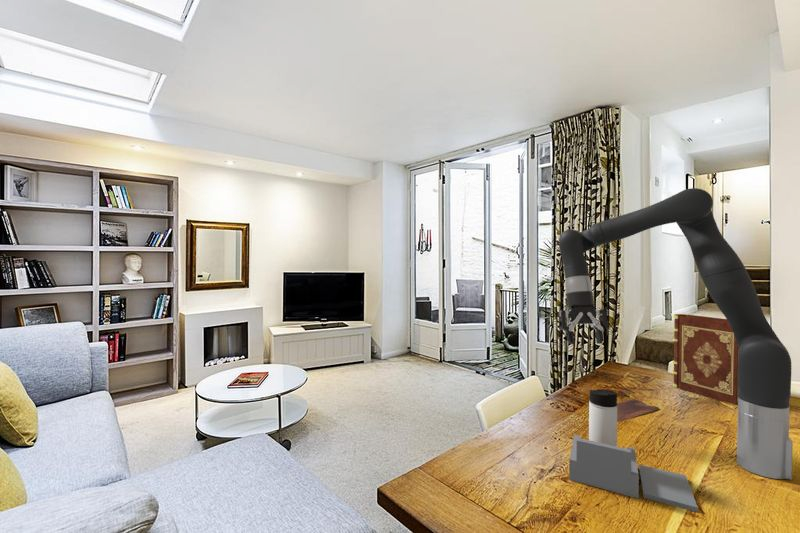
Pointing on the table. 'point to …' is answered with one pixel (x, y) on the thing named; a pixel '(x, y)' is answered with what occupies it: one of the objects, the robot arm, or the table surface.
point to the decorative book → (705, 357)
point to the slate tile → (667, 487)
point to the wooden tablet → (633, 409)
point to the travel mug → (603, 416)
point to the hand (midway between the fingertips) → (585, 343)
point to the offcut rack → (604, 466)
